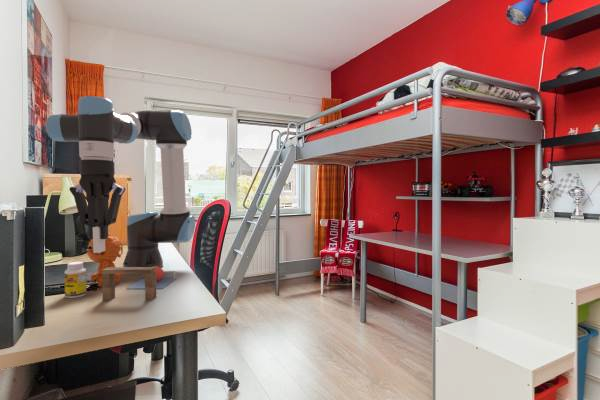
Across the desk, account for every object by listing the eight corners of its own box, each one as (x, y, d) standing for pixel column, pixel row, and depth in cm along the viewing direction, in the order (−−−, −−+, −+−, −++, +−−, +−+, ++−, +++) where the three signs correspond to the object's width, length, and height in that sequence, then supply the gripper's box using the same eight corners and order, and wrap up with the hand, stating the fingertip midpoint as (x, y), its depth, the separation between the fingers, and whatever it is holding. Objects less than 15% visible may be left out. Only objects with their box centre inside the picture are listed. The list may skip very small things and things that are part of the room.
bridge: (108, 297, 98) (107, 267, 98) (156, 297, 98) (156, 267, 98) (102, 300, 95) (102, 269, 95) (152, 300, 95) (151, 269, 95)
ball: (151, 277, 118) (149, 263, 116) (166, 277, 118) (165, 263, 116) (144, 284, 112) (142, 270, 111) (160, 284, 112) (158, 270, 111)
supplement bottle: (60, 297, 98) (59, 264, 97) (78, 292, 103) (78, 260, 102) (72, 299, 96) (72, 265, 95) (91, 294, 101) (90, 261, 100)
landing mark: (143, 279, 118) (143, 278, 118) (176, 278, 118) (176, 278, 118) (126, 289, 106) (126, 288, 106) (162, 289, 106) (162, 288, 106)
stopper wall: (148, 277, 120) (148, 271, 120) (175, 277, 120) (175, 271, 120) (146, 278, 118) (146, 272, 118) (173, 278, 118) (173, 272, 118)
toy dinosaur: (90, 282, 114) (89, 231, 114) (124, 278, 118) (124, 230, 118) (83, 291, 104) (81, 235, 103) (121, 287, 108) (120, 233, 108)
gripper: (60, 158, 78) (63, 255, 79) (115, 158, 78) (117, 254, 79) (80, 160, 85) (83, 249, 86) (130, 160, 86) (132, 248, 86)
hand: (99, 251), depth 83 cm, fingers closed
